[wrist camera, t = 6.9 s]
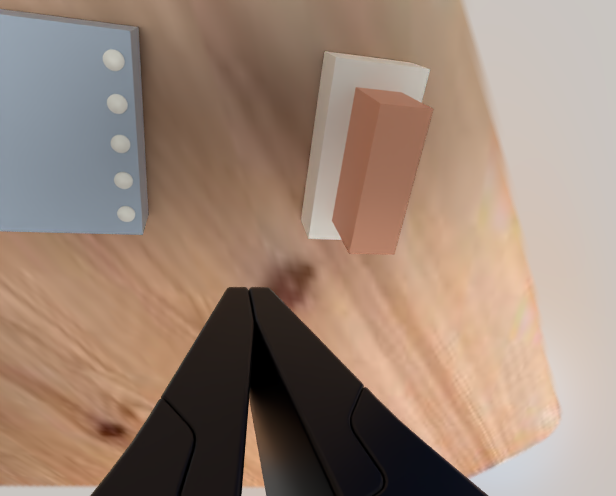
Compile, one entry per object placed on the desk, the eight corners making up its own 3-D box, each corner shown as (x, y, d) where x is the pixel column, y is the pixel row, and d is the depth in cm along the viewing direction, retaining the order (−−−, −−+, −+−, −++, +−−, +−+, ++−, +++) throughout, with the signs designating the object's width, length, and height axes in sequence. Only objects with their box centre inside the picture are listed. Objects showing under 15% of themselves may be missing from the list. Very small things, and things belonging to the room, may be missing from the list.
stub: (373, 222, 23) (410, 274, 19) (301, 220, 22) (321, 273, 18) (410, 62, 19) (467, 82, 15) (324, 51, 18) (358, 69, 14)
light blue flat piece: (148, 215, 20) (142, 236, 19) (-103, 206, 18) (-137, 229, 16) (138, 26, 16) (129, 30, 15) (-184, -16, 14) (-241, -18, 12)
